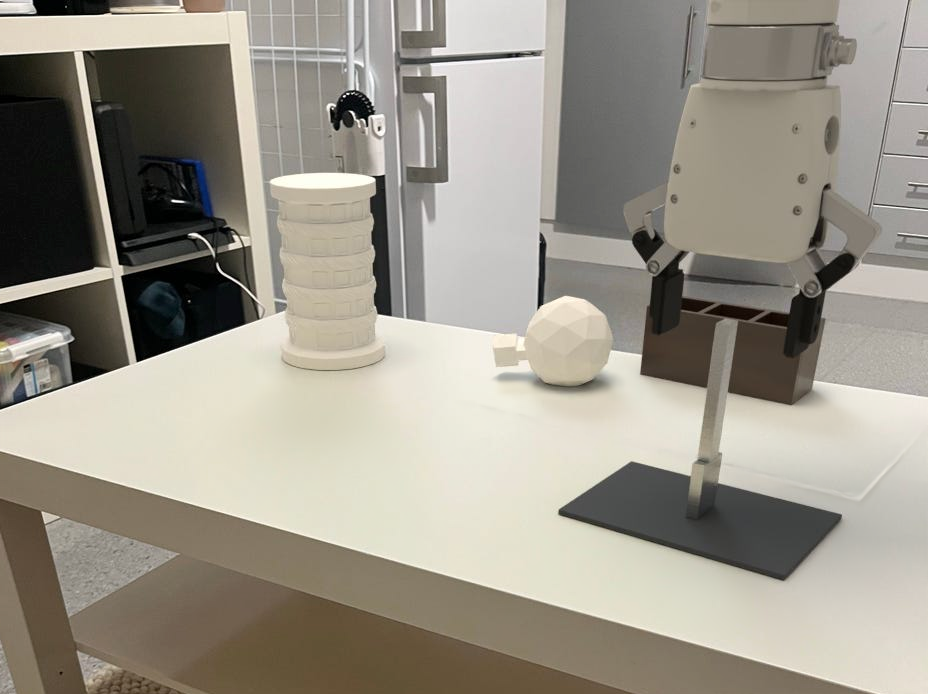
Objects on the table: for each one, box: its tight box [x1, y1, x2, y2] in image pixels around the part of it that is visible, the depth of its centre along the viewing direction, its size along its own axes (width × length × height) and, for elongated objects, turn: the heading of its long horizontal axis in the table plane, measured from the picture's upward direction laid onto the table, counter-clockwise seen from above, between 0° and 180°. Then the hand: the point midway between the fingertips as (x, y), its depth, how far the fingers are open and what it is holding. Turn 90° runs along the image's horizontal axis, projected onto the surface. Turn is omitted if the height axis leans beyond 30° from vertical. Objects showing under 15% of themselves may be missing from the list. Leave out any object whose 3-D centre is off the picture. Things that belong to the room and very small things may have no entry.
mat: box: [557, 460, 843, 581], centre depth 78 cm, size 18×12×1 cm, turn 54°
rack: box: [639, 295, 826, 406], centre depth 102 cm, size 6×16×8 cm, turn 54°
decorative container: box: [269, 172, 386, 371], centre depth 109 cm, size 12×12×18 cm
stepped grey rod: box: [685, 319, 738, 520], centre depth 74 cm, size 1×3×14 cm, turn 144°
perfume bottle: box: [492, 295, 614, 387], centre depth 103 cm, size 9×9×12 cm
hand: (728, 341), depth 71 cm, fingers open, 9 cm apart
